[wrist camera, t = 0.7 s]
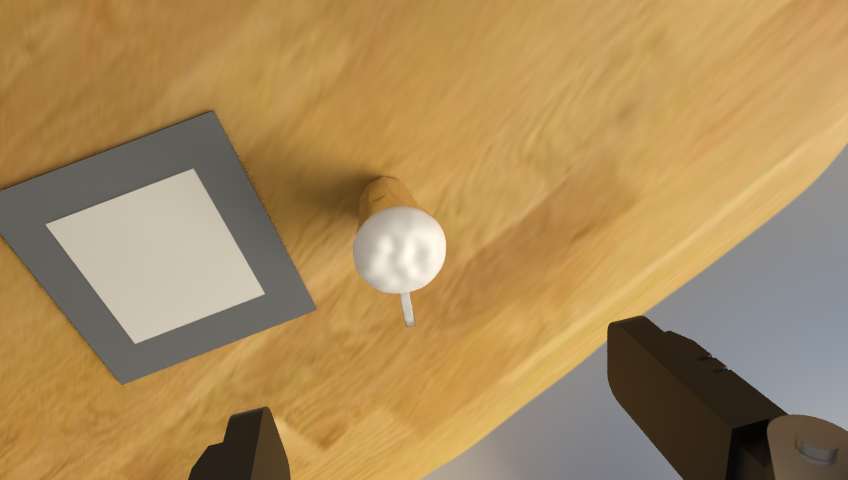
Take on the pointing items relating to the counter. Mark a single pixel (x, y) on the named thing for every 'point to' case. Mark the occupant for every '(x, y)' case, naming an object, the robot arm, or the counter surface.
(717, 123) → the counter surface
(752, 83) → the counter surface
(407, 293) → the milkshake
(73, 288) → the pad
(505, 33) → the counter surface
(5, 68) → the counter surface
